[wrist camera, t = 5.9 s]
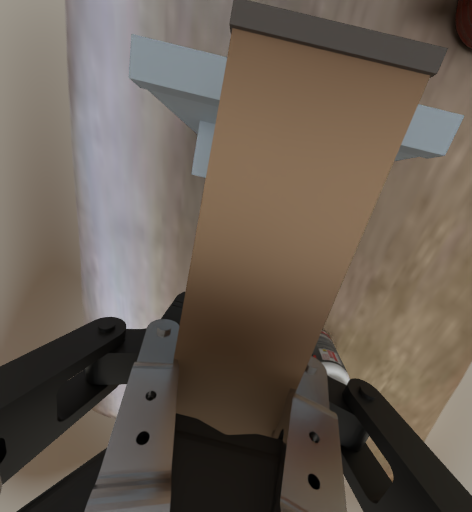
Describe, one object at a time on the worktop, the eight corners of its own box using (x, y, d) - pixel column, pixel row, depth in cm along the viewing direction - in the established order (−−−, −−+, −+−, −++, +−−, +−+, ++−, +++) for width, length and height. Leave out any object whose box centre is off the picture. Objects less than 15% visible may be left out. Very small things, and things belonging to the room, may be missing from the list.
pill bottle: (298, 322, 32) (316, 379, 22) (336, 331, 32) (371, 393, 22) (286, 353, 34) (298, 418, 24) (322, 362, 34) (349, 431, 24)
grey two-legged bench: (202, 121, 25) (131, 33, 11) (343, 156, 25) (464, 115, 11) (194, 173, 27) (123, 159, 12) (325, 206, 27) (408, 230, 12)
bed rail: (246, 107, 10) (234, -4, 4) (335, 128, 10) (448, 48, 4) (194, 352, 14) (152, 466, 9) (255, 368, 14) (255, 492, 9)
